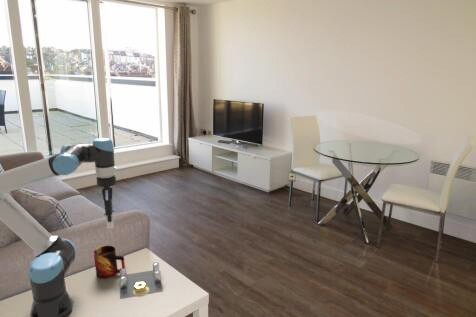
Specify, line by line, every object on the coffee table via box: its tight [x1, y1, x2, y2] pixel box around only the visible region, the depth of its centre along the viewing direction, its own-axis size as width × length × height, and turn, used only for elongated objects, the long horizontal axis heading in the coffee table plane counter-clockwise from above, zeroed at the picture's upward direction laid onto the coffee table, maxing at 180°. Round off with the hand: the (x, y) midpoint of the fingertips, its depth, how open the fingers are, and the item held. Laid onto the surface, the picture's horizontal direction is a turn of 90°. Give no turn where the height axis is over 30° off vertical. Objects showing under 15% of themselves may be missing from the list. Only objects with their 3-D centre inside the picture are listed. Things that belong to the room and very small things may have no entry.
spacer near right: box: [154, 269, 162, 283], centre depth 158 cm, size 3×3×5 cm
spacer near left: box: [118, 276, 127, 290], centre depth 154 cm, size 3×3×5 cm
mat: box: [119, 269, 164, 300], centre depth 157 cm, size 18×18×1 cm
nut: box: [134, 282, 146, 293], centre depth 152 cm, size 5×4×2 cm
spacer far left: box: [119, 266, 128, 278], centre depth 160 cm, size 3×3×5 cm
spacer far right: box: [152, 262, 160, 274], centre depth 164 cm, size 3×3×5 cm
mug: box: [93, 245, 126, 280], centre depth 164 cm, size 10×14×12 cm
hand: (110, 227), depth 148 cm, fingers closed
